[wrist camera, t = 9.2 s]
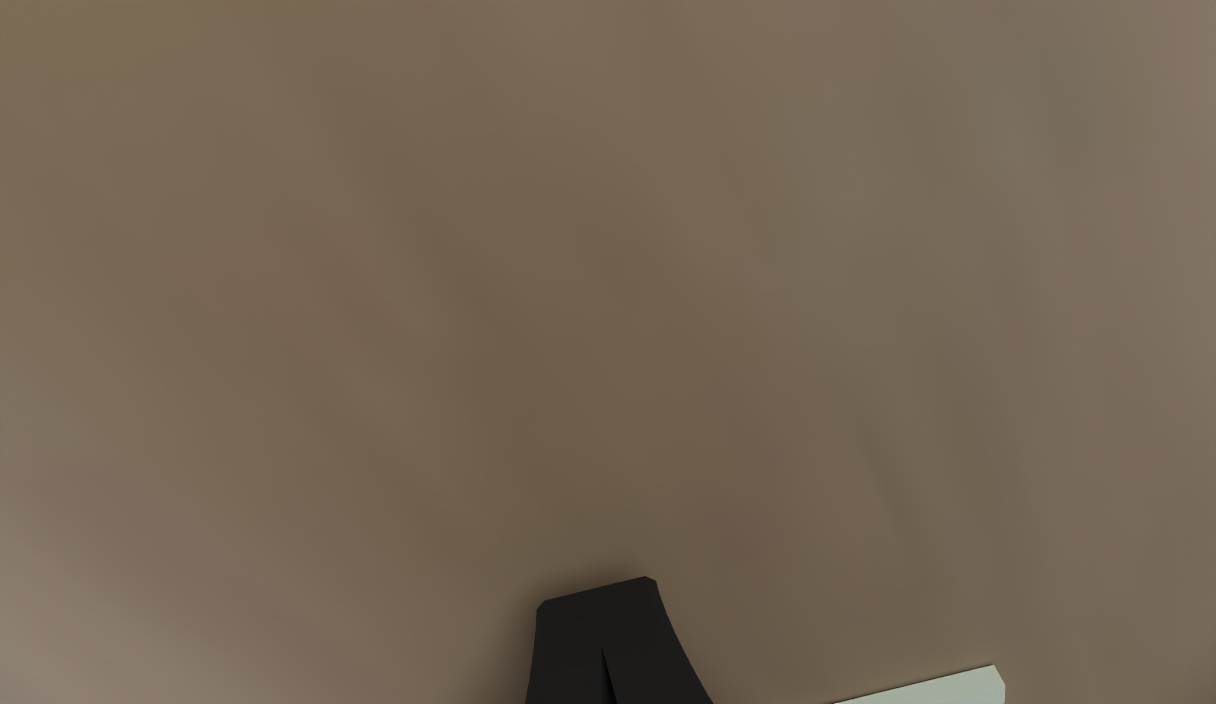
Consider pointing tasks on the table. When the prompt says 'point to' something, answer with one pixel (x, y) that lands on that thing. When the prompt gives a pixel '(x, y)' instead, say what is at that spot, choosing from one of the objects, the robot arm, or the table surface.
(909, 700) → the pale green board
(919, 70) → the table surface
